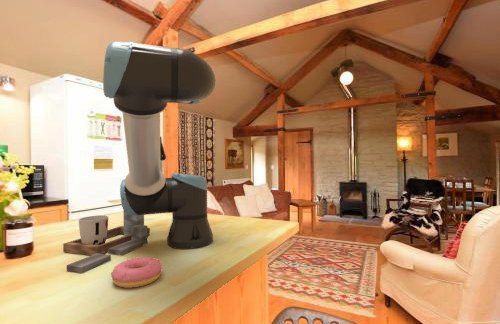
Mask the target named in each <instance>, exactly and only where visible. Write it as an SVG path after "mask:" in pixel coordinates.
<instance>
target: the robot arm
mask: <svg viewBox="0 0 500 324" xmlns="http://www.w3.org/2000/svg"><path fill="white" fill-rule="evenodd" d="M105 49H106V51H105V54H104V62H103V63H104V64H103V79H102V80H103V81H102V83H103V84H102V85H103V87H102V88H103V90H102V91H103V94H104V95H103V96H105V97H106V98H108V99H112V100H113V104H114V107H115V108H116V109H117V110H118V111H119V112H121V113H122V119H123V128H124V138H125V146H126V147H125V148H126V155H127V164H128V174H127V175H126V177H125V178H124V179H122V180H121V181H120V186H119V187H120V188H119V193H120V194H119V196H120V203H121V207H122V210H124V212H125V213H126V214H128V215H138V216H139V215H144V216H145V215H157V214H158V215H159V214H170V213H171V214H172V215H171V216H172V219H171V220H172V221H171V224H170V227H169V230H168V234H167V237H166V238H167V242H166V244H167V247H170V248H172V249H183V250H185V249H186V250H187V249H188V250H189V249H196V248H202V247H206V246H208V245H210V244H212V243H213V241H214V237H213V236H214V235H213V234H214V233H213V231H212V228H211V225H210V221H209V220H208V191H209V189H208V183H207V182H208V181H207V178H206V177H205V176H203V175H196V174H189V173H188V174H187V173H175V172H174V173H172V174H171V177H166V176H165V174H164V173H163V171H164V170H163V167H164V166H163V165H164V163H163V162H164V161H165V160H166V159H167V156H166V153H165V149H164V148H165V147H164V145H163V143H162V136H161V113H163V112H164V111H165V110H166V108H167V105H168V104H171V103H172V104H173V103H174V104H184V105H199V103H200V101H203V100H205V99H207V98H208V97H210V96H211V94H213V92H214V90H215V86H216V74H215V72H214V71H213V68H212V67H211V65H210V64H209V63H208V62H207V61H206V60H205V59H204V58H203V57H202V56H200V55H199V54H197V53H194V52H192V51H190V50H187V49H184V48H177V47H176V48H175V47H169V46H161V45H154V44H147V43H145V44H144V43H139V42H133V41H111V42H109V44H108V45H107V47H106V48H105Z"/></svg>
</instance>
